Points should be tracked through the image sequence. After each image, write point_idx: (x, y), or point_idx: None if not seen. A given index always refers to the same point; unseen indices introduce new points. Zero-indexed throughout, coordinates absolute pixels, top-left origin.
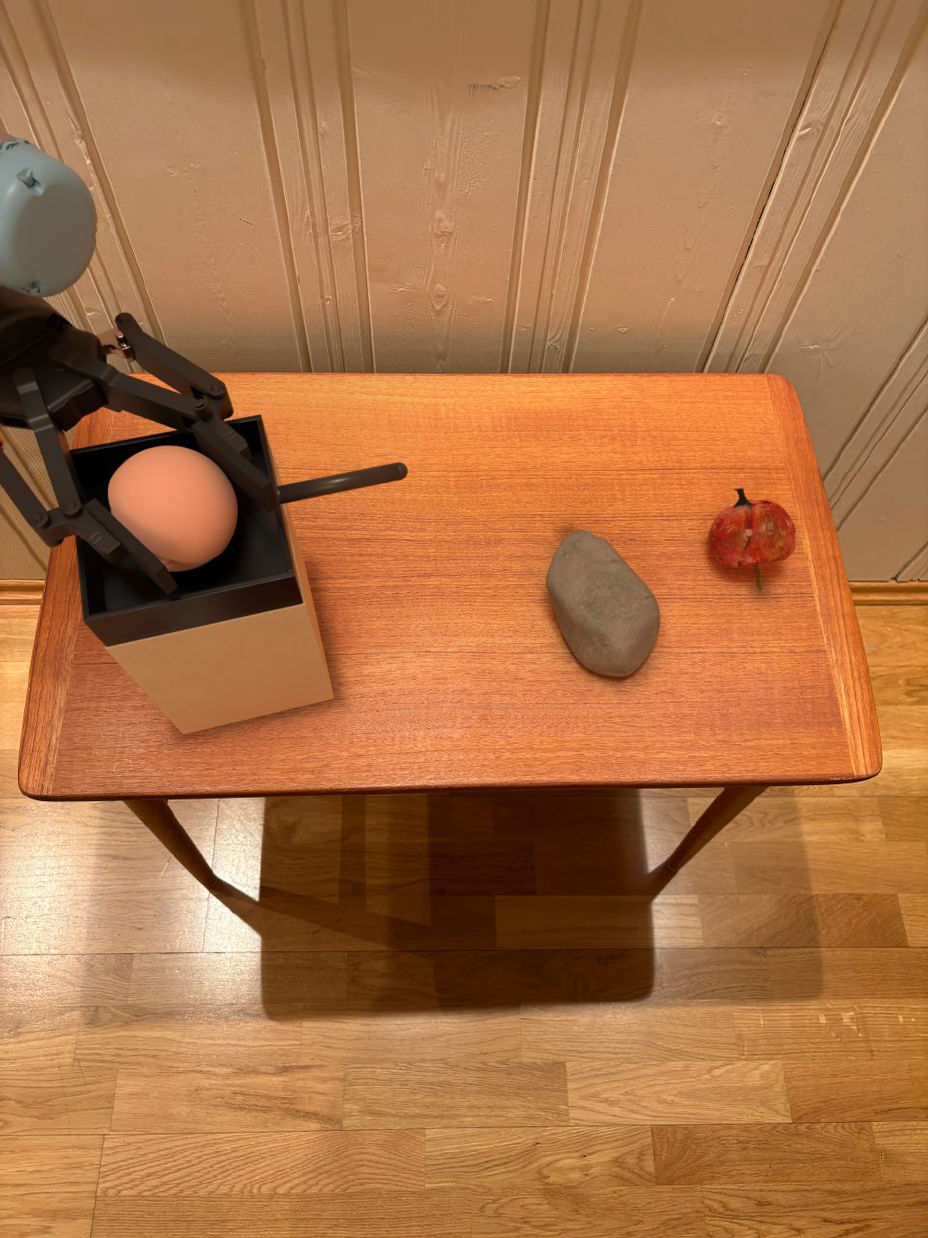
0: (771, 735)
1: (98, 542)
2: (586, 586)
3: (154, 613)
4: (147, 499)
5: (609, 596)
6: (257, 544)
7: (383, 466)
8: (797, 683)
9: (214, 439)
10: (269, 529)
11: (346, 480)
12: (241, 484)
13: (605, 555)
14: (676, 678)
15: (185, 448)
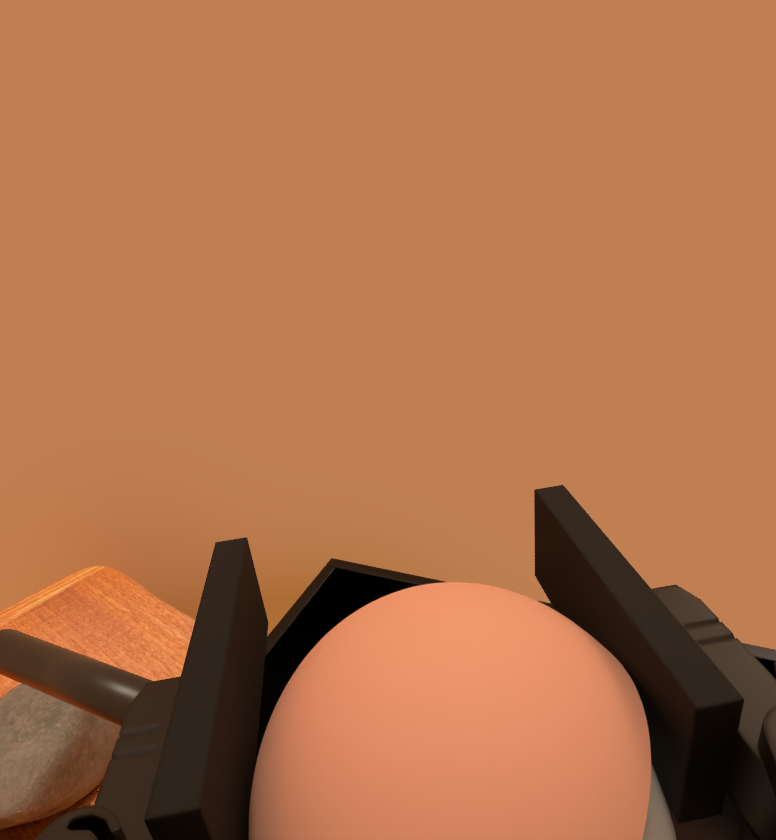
0: (107, 605)
1: (702, 621)
2: (21, 743)
3: None
4: (508, 606)
5: (27, 712)
6: None
7: (9, 649)
8: (41, 624)
9: (196, 703)
10: None
11: (83, 661)
12: (256, 685)
13: None
14: None
15: (287, 814)
